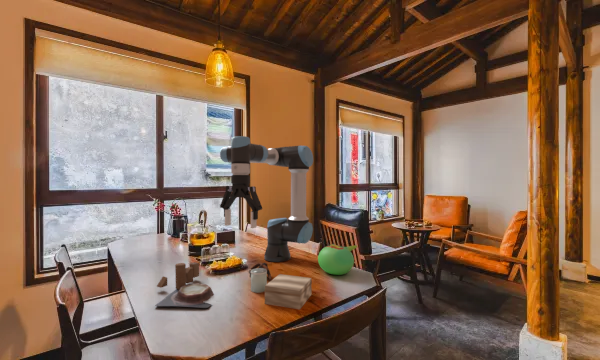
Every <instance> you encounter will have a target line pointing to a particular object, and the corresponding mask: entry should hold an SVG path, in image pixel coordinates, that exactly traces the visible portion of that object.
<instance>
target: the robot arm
mask: <svg viewBox="0 0 600 360" xmlns="http://www.w3.org/2000/svg"><path fill="white" fill-rule="evenodd" d="M219 157H220V159H221V161H222V162H224V163H230V166H231V167H230V169H231V170H230V171H231V172H230V174H232V175H230V183H231V185H227V186H226V187H225V192H224V194H223V197H222V199H221V202H220V204H219V207H220V209H223V218H224V226H226V227H227V226H231V224H232V219H231V217H232V209H231V207H232V205H233V203H234V202H235V201H236V199H237V198H243V199H244V200H245V201H246V203H247V204H248V206H249V207H250V210H251V211H250V229H255V228H257V222H258V221H257V220H258V218H259V211H261V210H263V207H262V204H261V200H260V199H259V196H258V194H257V187H256V186H253V185H252V186H250V184H251V182H250V181H251V176H250V175H249V174H251V163H252V164H268V165H269V166H276V167H283V168H287V169H288V171H289V172H290V216H289V217H288V218H287V217H278V218H273V219H272V218H271V219H269V220H268V221H267V227H266V229H267V232H266V234H267V239H266V240H267V244H266V248H265V252H264V256H263V257H264V260H265V261H268V262H273V263H280V262H286V261H287V262H288V261H289V260H291V251H290V248H289V246H288V243H295V244H299V245H300V244H307V243H309V241H310V240H311V238H312V235H313V231H314V228H313V227H314V226H313V223H312V222H310V220H309V219H310V218H309V217H308V216H307V173H308V172H309V171H310V168H311V166H313V163H314V155H313V151H312V150H311V148H310V147H309V146H308V145H292V146H291V145H290V146H281V147H270V148H267V147H266V146H264V145H262V144H256V143H251V138H250V137H249V136H245V135H241V136H240V135H236V136H233V137H232V138H231V145H227V146H223V147H221V148H220V151H219Z"/></svg>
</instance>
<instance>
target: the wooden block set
mask: <svg viewBox="0 0 600 360" xmlns="http://www.w3.org/2000/svg"><path fill="white" fill-rule="evenodd" d="M186 265H187V264H186V263H185V262H178V263H176V264H175V265H174V267H175V270H174V272H175V290H176V289H178V290H180V288H181V287H182V286H186V285H187V284H190V283H193V282H194V278H197V277H199V276H200V263H199V262H196V261H195V262H191V263H189V266H188V267H186ZM167 286H168V277H167V276H162V277H161V278H160V280H159V282H158V284H157V285H156V287H157V288H160V289H162V288H164V287H167Z"/></svg>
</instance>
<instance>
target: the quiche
mask: <svg viewBox="0 0 600 360" xmlns="http://www.w3.org/2000/svg"><path fill="white" fill-rule="evenodd" d="M214 295H215V293H214V291H213V289H212V287H211V286H209V284H206V283H199V282H198V283H197V282H196V283H193V284H186V286H182V287H181V288H180V290H178V289H176V288H175V290H173V291H172V292H170V293H169V294H168V295H166V297H164V298H163V299H162V300H161V301H158V303H156V304H155V305H154V307H186V308H187V307H188V308H201V309H207V308H210V307H211V306H212V303H208V302H206V301H209V300H211V298H212V297H213V296H214Z"/></svg>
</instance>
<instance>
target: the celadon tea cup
mask: <svg viewBox="0 0 600 360" xmlns="http://www.w3.org/2000/svg"><path fill="white" fill-rule="evenodd" d="M250 270H251V269H250ZM267 280H268V275H267V270H266V269H263V268H259V267H258V268H256V269H252V270H251V278H250V291H251V292H252V293H254V294H257V293H258V294H260V293H265V285H266V284H268V281H267Z"/></svg>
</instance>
